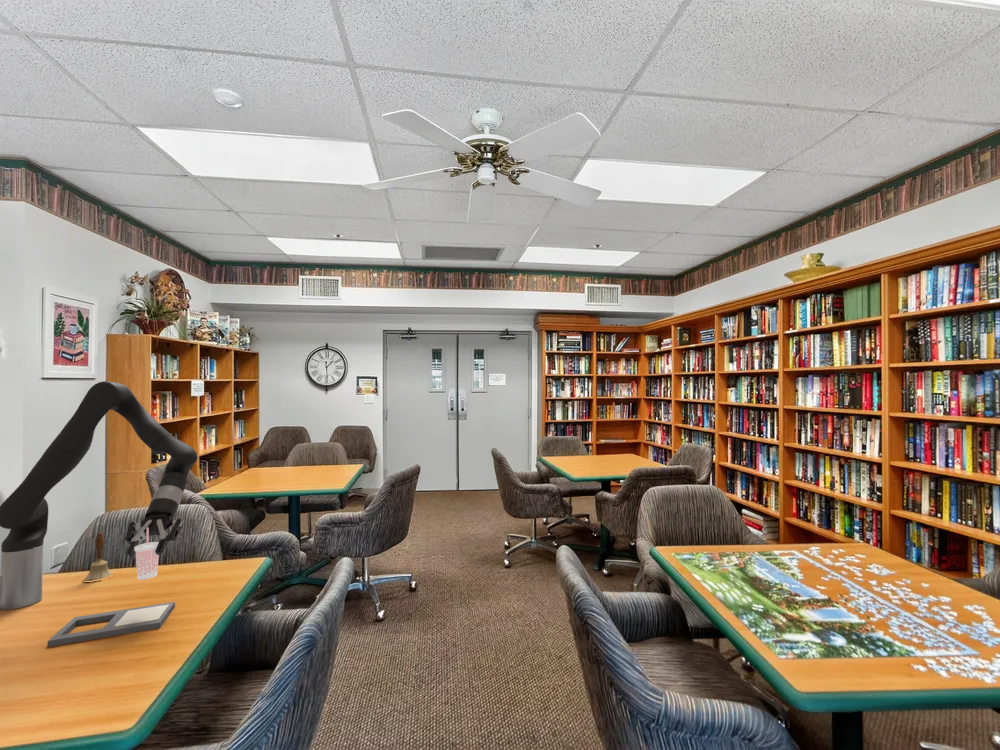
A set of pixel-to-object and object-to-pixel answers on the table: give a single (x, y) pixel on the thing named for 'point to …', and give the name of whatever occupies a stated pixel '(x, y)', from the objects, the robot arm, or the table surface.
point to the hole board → (114, 623)
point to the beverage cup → (146, 559)
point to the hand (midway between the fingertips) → (144, 554)
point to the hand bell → (98, 562)
